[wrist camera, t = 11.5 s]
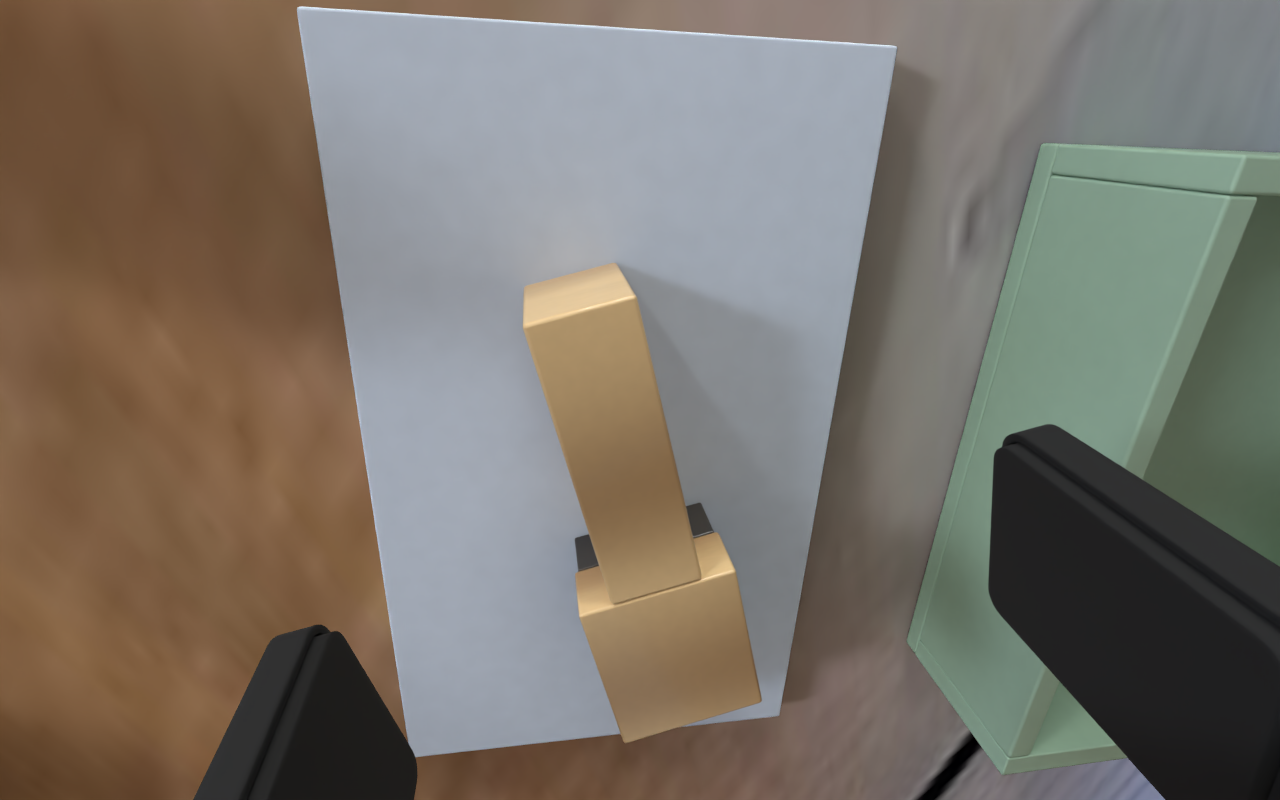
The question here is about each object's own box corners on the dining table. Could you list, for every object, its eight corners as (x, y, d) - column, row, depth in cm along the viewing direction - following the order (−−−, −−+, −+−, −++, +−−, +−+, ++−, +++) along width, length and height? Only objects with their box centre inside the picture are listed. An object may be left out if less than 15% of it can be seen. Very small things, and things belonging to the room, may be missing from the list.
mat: (311, 13, 13) (295, 6, 12) (876, 49, 15) (899, 45, 14) (415, 730, 21) (410, 758, 20) (769, 692, 23) (779, 716, 22)
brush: (487, 295, 14) (478, 336, 12) (650, 252, 15) (678, 283, 12) (610, 657, 19) (624, 745, 17) (730, 622, 20) (762, 702, 17)
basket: (1040, 142, 16) (1246, 154, 11) (1511, 161, 19) (1835, 178, 14) (905, 641, 23) (1001, 776, 18) (1266, 606, 25) (1431, 717, 21)
